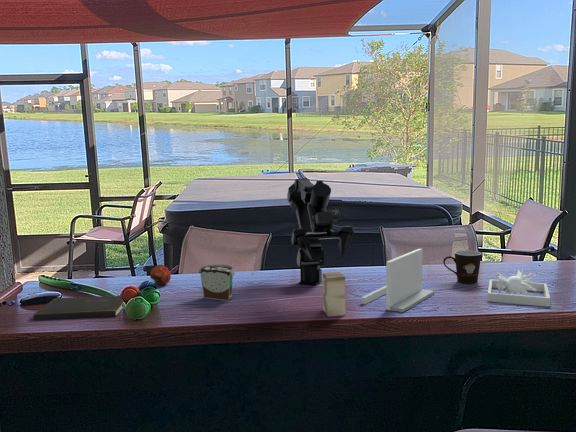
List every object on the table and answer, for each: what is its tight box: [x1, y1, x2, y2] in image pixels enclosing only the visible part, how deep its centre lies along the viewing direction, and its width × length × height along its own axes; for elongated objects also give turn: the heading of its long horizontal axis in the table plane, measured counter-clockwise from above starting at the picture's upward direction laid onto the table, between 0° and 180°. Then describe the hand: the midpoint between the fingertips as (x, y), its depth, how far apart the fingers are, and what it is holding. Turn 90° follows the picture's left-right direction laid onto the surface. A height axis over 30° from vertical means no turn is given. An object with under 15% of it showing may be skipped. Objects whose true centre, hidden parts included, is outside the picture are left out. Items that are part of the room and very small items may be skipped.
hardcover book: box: [32, 295, 124, 321], centre depth 158 cm, size 16×23×2 cm
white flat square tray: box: [487, 279, 551, 308], centre depth 160 cm, size 17×17×2 cm
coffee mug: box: [442, 249, 482, 285], centre depth 178 cm, size 12×9×10 cm
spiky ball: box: [494, 268, 537, 296], centre depth 161 cm, size 11×12×8 cm
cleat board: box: [360, 248, 435, 313], centre depth 160 cm, size 14×22×14 cm, turn 142°
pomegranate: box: [149, 264, 172, 286], centre depth 184 cm, size 7×7×10 cm
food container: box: [198, 264, 236, 302], centre depth 167 cm, size 12×6×10 cm, turn 65°
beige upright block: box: [322, 271, 346, 317], centre depth 149 cm, size 6×5×11 cm
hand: (327, 258), depth 156 cm, fingers open, 9 cm apart
